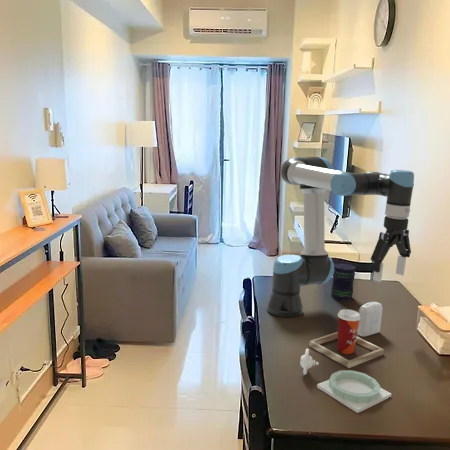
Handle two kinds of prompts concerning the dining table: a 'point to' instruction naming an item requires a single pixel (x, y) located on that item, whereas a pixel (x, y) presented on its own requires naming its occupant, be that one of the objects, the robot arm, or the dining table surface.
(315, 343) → the tray frame
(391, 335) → the dining table surface
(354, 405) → the cup holder
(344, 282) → the storage jar
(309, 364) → the ring around a ball
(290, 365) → the dining table surface
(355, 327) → the paper cup
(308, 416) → the dining table surface
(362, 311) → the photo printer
